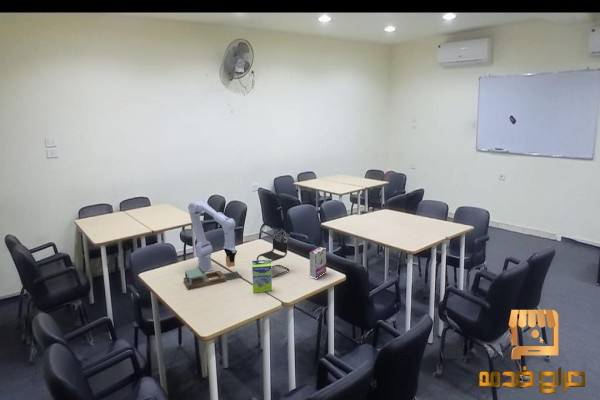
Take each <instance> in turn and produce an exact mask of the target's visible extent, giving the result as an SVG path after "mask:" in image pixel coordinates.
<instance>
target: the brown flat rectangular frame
mask: <svg viewBox="0 0 600 400" xmlns="http://www.w3.org/2000/svg"><path fill="white" fill-rule="evenodd" d="M223 274H224V273H223V272H222V271H221V270H215V271H209V272H206V273H205V276H206V282H204V276H203V277H198V278H193V279H191V282H192V285H190V282H189V278H188V276H187V278H185V277H183V283H184V285H185V286H186V289H187V290H188V291H190V290H194V289H199V288H203V287H208V286H213V285H218V284H223V283H226V282H227V279H226V277H225V276H224V275H223ZM216 277H217V278H216Z"/></svg>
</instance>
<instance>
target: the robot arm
mask: <svg viewBox="0 0 600 400" xmlns="http://www.w3.org/2000/svg"><path fill="white" fill-rule="evenodd" d="M187 209H188V212H189V218H190V221H191V224H192V228H193V232H194V235H195V238H196V241H197V242H196V243H195V246H194V249H195V250H194V251H195V255H196V256H197V260H198V261H197V262H198V266H197V267H196V268H199V265H201V266H202V268H203V269H204V271H205V272H206V273H207V272H212V271H214V268H213V267H212V259H211V255H212V253H213V251H214V248H213V246H212V244H211V242H210V241H209V240H207V238H206V234H205V231H204V228H203V224H202V221H201V220H202V219H201V214H202V213H203V212H205V213H206V214H207V215H209V216H211V217H213V221H215V222H216V223H218V224H219V225H220V226H221V227H222V230H223V233H224V234H223V235H224V243H223V244H224V246H223V247H222V249H223V250H224V253H225V257H226V256H229V259H230V262H234V259H236V254H237V252H238V251H237V249H236V244H235V243H236V242H235V241H236V240H235V227H236V225H237V222H236V220H235V219H234V218H232V217H228V216H226V215H225V214H223V212H220V211H218V212H217V211H216V210H215V209H214V208H213V207H211V206H210V205H209V204H208V201H206V200H205V199H199V200H197V201H193V202H190V203H189V204H188V206H187Z"/></svg>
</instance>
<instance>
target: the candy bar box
mask: <svg viewBox="0 0 600 400" xmlns="http://www.w3.org/2000/svg"><path fill="white" fill-rule="evenodd" d="M325 272H326V273H327V248H326V247H321V246H319V247H317V248H315V249H313V250H312V251H309V277H310V276H312V277H315V278H317V277H319V276H320V275H322V274H323V273H325Z"/></svg>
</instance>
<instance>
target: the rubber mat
mask: <svg viewBox="0 0 600 400" xmlns="http://www.w3.org/2000/svg"><path fill="white" fill-rule="evenodd" d="M223 275H224V276H225V277H226V281H231V280H235V279H241V278H242V275H241V274H240V273H239V271H237V270H236V271H231V272H227V273H223Z"/></svg>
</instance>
